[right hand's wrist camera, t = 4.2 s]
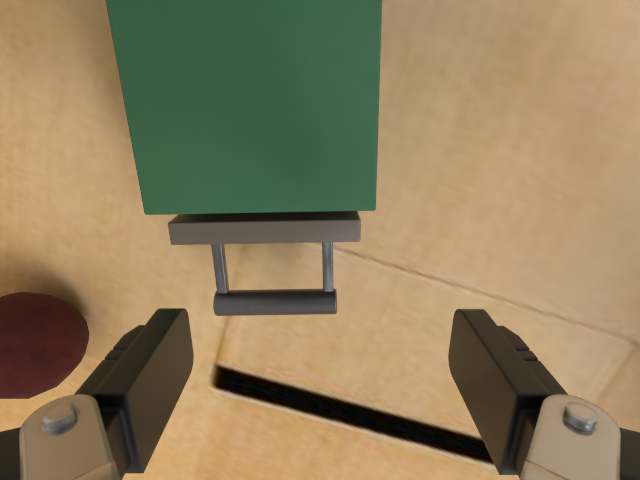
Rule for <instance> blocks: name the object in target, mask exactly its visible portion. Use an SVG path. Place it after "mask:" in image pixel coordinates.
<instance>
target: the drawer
mask: <svg viewBox="0 0 640 480" xmlns="http://www.w3.org/2000/svg"><path fill="white" fill-rule="evenodd" d="M168 228H169V234H170V240H171V245H191V244H211V245H212V253H213V261H214V269H215V277H216V285H217V291H216V293H215V296H214V304H213V305H214V312H215V315H217V316H237V315H300V314H336V313H337V294H336V289H333V242H359V241H360V229H361V220H360V217H359V214H358V211H319V212H265V213H212V214H179V215H178V216H176V217H175V218H174V219H173V220H171V221H170V222H169V223H168ZM304 242H322V254H323V289H282V290H229V284H228V276H227V267H226V258H225V249H224V244H247V243H304Z"/></svg>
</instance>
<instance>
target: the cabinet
mask: <svg viewBox="0 0 640 480" xmlns="http://www.w3.org/2000/svg"><path fill="white" fill-rule="evenodd" d="M106 5H107V10H108V15H109V21H110V26H111V32H112V37H113V43H114V48H115V54H116V59H117V65H118V70H119V76H120V81H121V87H122V92H123V97H124V103H125V108H126V114H127V119H128V125H129V130H130V136H131V141H132V147H133V152H134V158H135V163H136V168H137V174H138V179H139V185H140V190H141V196H142V201H143V207H144V212H145V214H146V215H158V214H212V213H265V212H319V211H373V210H375V209H376V181H377V148H378V115H379V81H380V48H381V15H382V0H106Z"/></svg>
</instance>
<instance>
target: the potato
mask: <svg viewBox="0 0 640 480" xmlns="http://www.w3.org/2000/svg"><path fill="white" fill-rule="evenodd" d="M88 340H89V330H88V326H87V322H86V320H85V319H84V318H83V316H82V315H81V314H80V312H79V311H78V310H76V309H75V308H74V307H73V306H71V305H70V304H69V303H67V302H64V301H62V300H59V299H57V298H55V297H52V296H49V295H44V294H36V293H27V292H19V293H14V294H10V295H6V296H2V297H0V399H29V398H31V397H33V396H36V395H38V394H41V393H43V392H45V391H48V390H50V389H52V388H54V387H57V386H58V385H59V384H60V383H61V382H62V381H63V380H64V379H65V378H67V377H68V376H69V375H70V374H71V372H72V371H73V370H74V369H75V368H76V367H77V366H78V364H79V363H80V362H81V360H82V358H83V356H84V355H85V352H86V348H87V344H88Z"/></svg>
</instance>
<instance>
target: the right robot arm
mask: <svg viewBox="0 0 640 480" xmlns="http://www.w3.org/2000/svg"><path fill="white" fill-rule="evenodd" d="M192 366H193V347H192V339H191V332H190V325H189V317H188V313H187V310H186V309H184V308H160V309H158V310H157V311H156V312H155V313H154V314H153V316H152V317H151V318H150V320H149V321H148V322H147V323H146V325H139V326H137V327H136V328H134V329H133V330H131V331H130V332H128V333H127V334H125V335H123V337H122V338H121V339H120V340H119V341H118V343H117V344H116V345H115V346H114V347H113V350H111V351H110V352H109V353H108V355H107V356H106V357H105V360H103V361H102V362H101V363H100V364H99V365H98V367H97V368H96V369H95V370H94V371H93V373H92V374H91V375H90V376H89V377H88V379H87V380H86V381H85V382H84V383H83V385H82V386H81V387H80V388H79V389H78V391H77V392H76V393H75V394H74V395H69V396H65V397H62V398H58V399H56V400H53V401H51V402H49V403H47V404H45V405H44V406H42V407H40V408H39V409H37V410H36V411H35V412H33V413H32V414H31V415H30V416H29V417H28V418H27V419H26V420H25V422H24V423H23V425H22V426H21V427H20V428H15V429H11V430H7V431H2V432H0V480H122V478H123V476H124V475H125V473H144V471H145V469H146V467H147V465H148V462H149V460H150V458H151V456H152V454H153V452H154V450H155V448H156V446H157V443H158V441H159V439H160V437H161V435H162V433H163V431H164V429H165V427H166V424H167V422H168V420H169V418H170V416H171V414H172V412H173V410H174V407H175V405H176V403H177V401H178V399H179V397H180V395H181V393H182V391H183V388H184V386H185V384H186V382H187V380H188V378H189V376H190V373H191V370H192ZM449 367H450V371H451V374H452V377H453V379H454V381H455V383H456V385H457V387H458V389H459V391H460V393H461V395H462V397H463V400H464V402H465V404H466V406H467V408H468V410H469V412H470V414H471V416H472V418H473V420H474V423H475V425H476V427H477V429H478V431H479V433H480V435H481V437H482V439H483V441H484V443H485V446H486V448H487V450H488V452H489V454H490V456H491V458H492V460H493V462H494V464H495V466H496V468H497V471H498V473H499V475H518V476H519V478H520V480H640V433H639V432H635V431H631V430H626V429H622V428H619V426H618V425H617V423H616V422H615V420H614V419H613V418H612V417H611V416H610V415H609V414H608V413H607V412H605V411H604V410H603V409H601V408H600V407H598V406H596V405H595V404H593V403H591V402H589V401H587V400H584V399H581V398H578V397H575V396H571V395H568V394H567V393H566V391H565V390H564V389H563V388H562V387H561V386H560V384H559V383H558V382H557V381H556V380H555V378H554V377H553V376H552V375H551V374H550V372H549V371H548V370H547V369H546V368H545V367H544V365H543V364H542V363H541V362H540V361H538V358H537V357H536V356H535V355H534V353H533V352H532V351H529V348H528V346H527V345H526V344H525V343H524V342H523V340H522V339H521V338H520V337H519V336H518V335H516V334H515V333H513V332H512V331H510V330H509V329H507V328H506V327H504V326H497V325H496V324H495V322H494V321H493V320H492V319H491V317H490V316H489V315H488V314H487V312H486V311H485V310H484V309H457V310H456V311H455V313H454V318H453V325H452V333H451V340H450V347H449Z"/></svg>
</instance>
